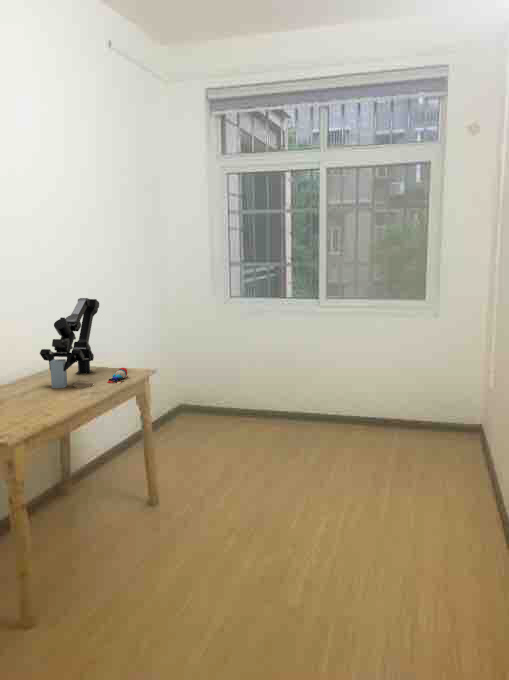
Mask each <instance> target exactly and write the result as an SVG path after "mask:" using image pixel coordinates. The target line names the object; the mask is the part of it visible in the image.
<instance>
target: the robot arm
mask: <svg viewBox="0 0 509 680" xmlns="http://www.w3.org/2000/svg"><path fill="white" fill-rule="evenodd" d="M99 308H100V301H98V300H97V298H88V297H79V298H78V299H77V303H76V305H75V306H74V308H73V310H72V312H71V313H70V315H68V316H66V317H60V318H59V319H57V320H56V321H55V322H54V323H53V328H54V329H55V330H56V332H57V334H58V335H59V336H61V337H60V338H54V339H52V343H51V347H52V348H54V351H52V350H51V349H49V348H42V349H40V351H39V355H40V357H41V358H42V359H43V360H44V361H48V365H49V368H50V361H52V360H55V358H56V357H57V358H66V363H65V366H64V371H67V370H69V368H70V367H71V366H73V365H74V364H75V363H77V369H78V370H77V372H75V374H76V373H86V374H91V372H93V369H91V362H92V361H94V357H95V355H94V353H93V352H92V348H91V345H90V341H89V340H90V335H91V332H92V326H93V325H92V324H93V320H94V319H93V318H94V316H95V315H96V314H97V313H98V309H99ZM75 332H79V337H78V340H77V341H74V340H76V339H77V337H76V333H75ZM49 371H50V372H51V370H50V369H49Z"/></svg>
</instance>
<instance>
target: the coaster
mask: <svg viewBox="0 0 509 680" xmlns="http://www.w3.org/2000/svg"><path fill="white" fill-rule="evenodd" d="M93 384H94V382H93V381H79V382H78V381H77V382H74V383H73V384H72V386H74V388H77V387H84V388H89V386H90V387H93V386H94V385H93ZM92 385H93V386H92Z"/></svg>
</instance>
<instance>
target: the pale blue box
mask: <svg viewBox="0 0 509 680" xmlns="http://www.w3.org/2000/svg"><path fill="white" fill-rule="evenodd" d="M54 359H55V358H54ZM66 360H67V358H66V359H64V358H63V359H61V358H60V359H55V360H52V361H50V367H49V371H50V370H51V371H50V380H51V381H50V383H51V389H63V388H66V387H68V376H67V375H68V374H67V373H68V371H67V370H66V371H64V366H65V363H66Z"/></svg>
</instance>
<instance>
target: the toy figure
mask: <svg viewBox="0 0 509 680" xmlns="http://www.w3.org/2000/svg"><path fill="white" fill-rule="evenodd" d="M127 376H128V369H127V368H125V367H121V368H119V369H117V370H116V372H115V373H114V374H113V375H112V376H111V377H112V378H109V379H108V381H106V383H108V384H115V383H114V382H121V383H122V381H124V380H125V379H126V377H127Z"/></svg>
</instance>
